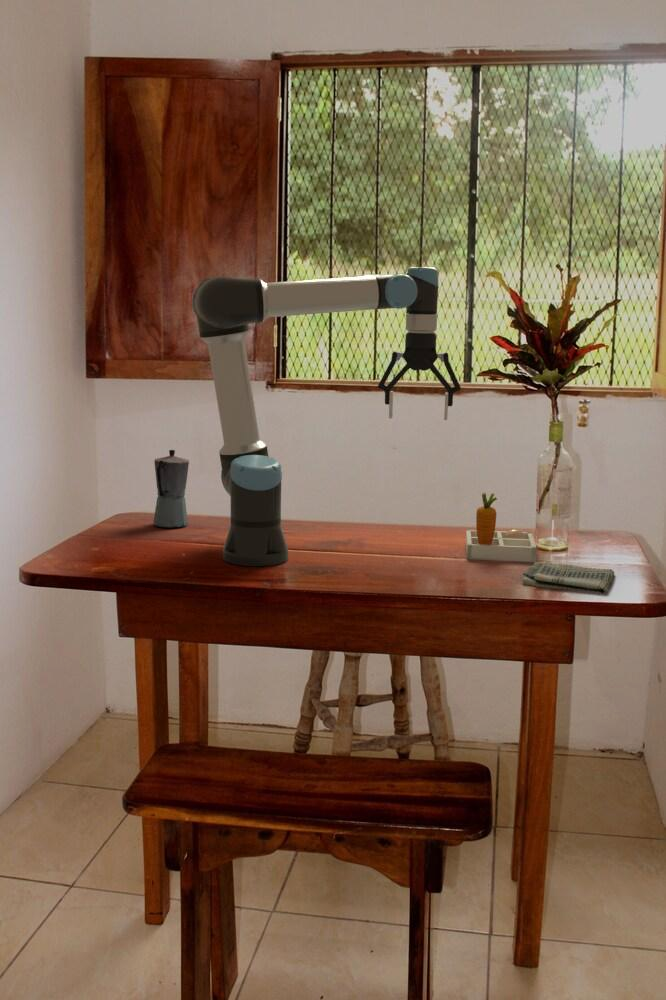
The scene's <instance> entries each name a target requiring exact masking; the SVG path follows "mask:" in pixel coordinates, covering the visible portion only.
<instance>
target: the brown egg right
mask: <svg viewBox="0 0 666 1000" xmlns="http://www.w3.org/2000/svg"><path fill="white" fill-rule="evenodd" d="M507 532H508V533H507V534H506V537H505V538H510V539H524V534H523V533H522V532H523V531H521V530H520V529H517V528H513V529H510V530H509V531H507Z"/></svg>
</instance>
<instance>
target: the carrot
mask: <svg viewBox="0 0 666 1000" xmlns="http://www.w3.org/2000/svg"><path fill="white" fill-rule="evenodd" d="M494 496H495V493H491V494H490V495H489V498H487V493H486V492H483V493H482V494H481V499H482V503H483V506H479V507H478V508H477V509H476V517H475V518H476V522H475V523H476V524H475V525H476V526H475V527H476V530H477V537H478V542H479V544H480V545H491V543H492V540H493V536H494V532H495V531H496V523H497V511H496V509H495V508H494V507H493V506H492V504H493V503H494V501H497V500H498V498H497V497H494Z"/></svg>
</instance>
